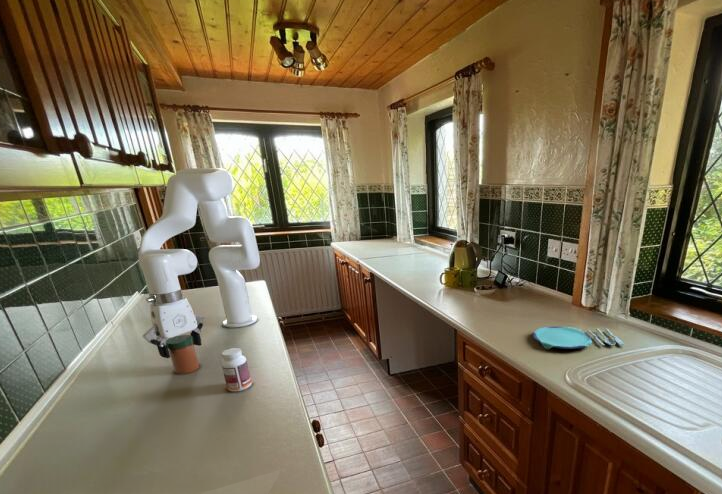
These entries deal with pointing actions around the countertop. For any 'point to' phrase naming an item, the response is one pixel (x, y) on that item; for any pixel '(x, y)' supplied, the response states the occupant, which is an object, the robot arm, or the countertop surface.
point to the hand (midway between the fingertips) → (182, 350)
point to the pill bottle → (235, 370)
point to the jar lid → (179, 341)
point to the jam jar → (184, 359)
